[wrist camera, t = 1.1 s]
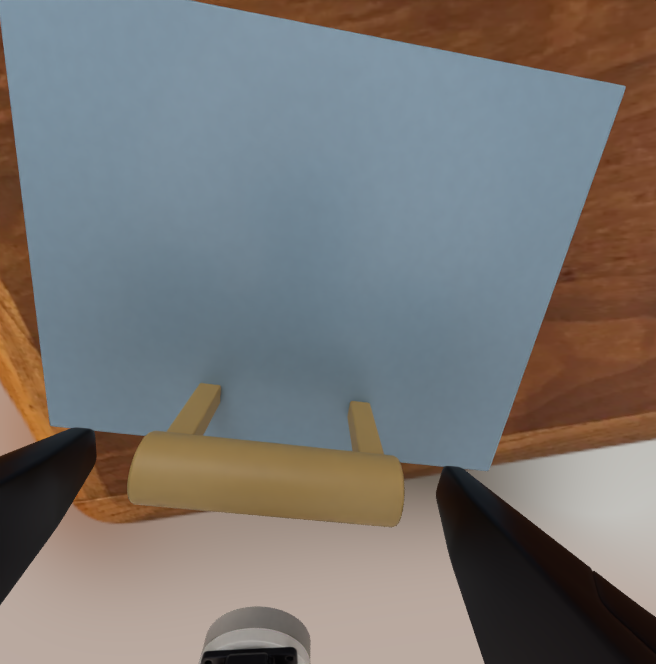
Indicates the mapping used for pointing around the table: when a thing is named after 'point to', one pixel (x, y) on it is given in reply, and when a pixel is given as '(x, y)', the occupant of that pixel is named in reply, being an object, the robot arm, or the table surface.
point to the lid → (287, 245)
